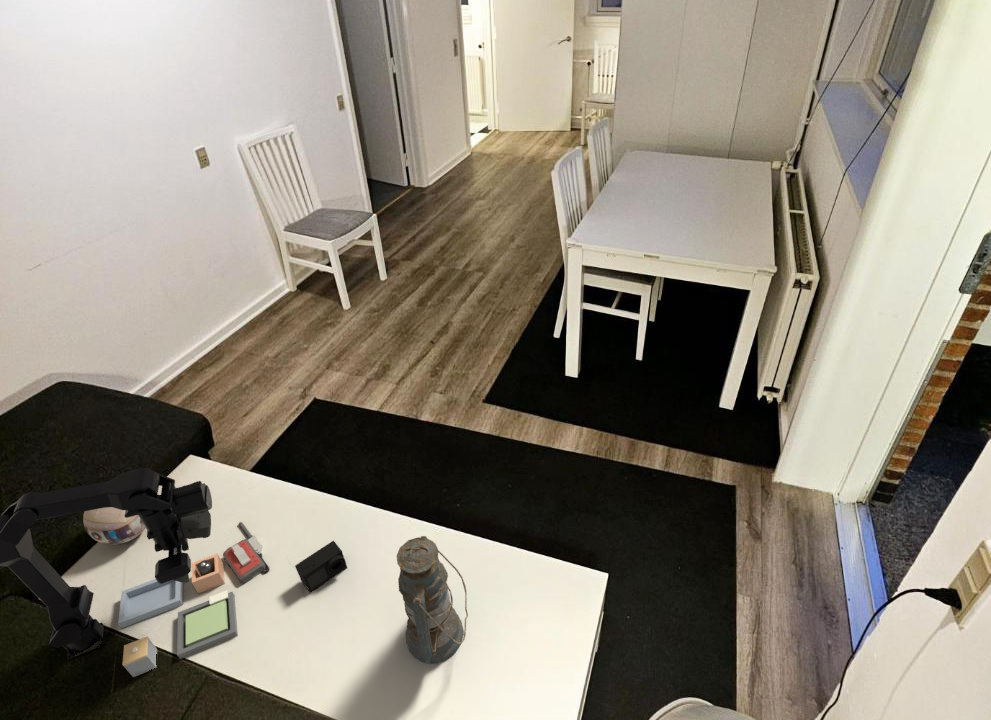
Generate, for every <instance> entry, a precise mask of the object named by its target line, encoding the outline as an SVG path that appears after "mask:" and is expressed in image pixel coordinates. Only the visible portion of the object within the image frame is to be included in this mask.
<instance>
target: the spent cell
mask: <svg viewBox="0 0 991 720" xmlns="http://www.w3.org/2000/svg"><path fill="white" fill-rule="evenodd" d="M197 568H198V570H199V572H200V574H201V575H202V576H204V575H207V574H209V573H212V572H215V571H214V569H213V567H212V565H211V564H210V562H209V561H208V560H203V561H201V562H200V563H199V564H198V566H197Z"/></svg>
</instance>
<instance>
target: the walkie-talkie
mask: <svg viewBox="0 0 991 720" xmlns="http://www.w3.org/2000/svg"><path fill="white" fill-rule="evenodd" d="M238 527H239V528H240V529H241V530H242V532H243V533H244V534H245V536H246V537H247V538H245V539H241V540H240V541H239V542H236V543H235V544H234V545H231V546H229V547H227V548H226V550H225V551H223V552H222V556H223V559H224V561H225V563H226V564H227V565H228V568H230V569H232V572H233V573H234V574H235V576H236V577H237V579H238V580H239V582H240V583H241V584H243V585H245V584H247V583H248V582H251V581H252V580H253V579H254V578H257V576H258V575H259V576H260V574H262V573H264V574H268V573H269V572H270V567H269V565H268V564H267V562H266V561H265V560H264V558H263V553H262V551H263V544H262V543H261V542H260V541H259V539H258V537H257V535H253V534H252V533H251V532H250V531H249V530H248V528H247V527H246V526H245V525H244V523H243V522H242V521H240V522H238Z"/></svg>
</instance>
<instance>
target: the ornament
mask: <svg viewBox="0 0 991 720" xmlns="http://www.w3.org/2000/svg"><path fill="white" fill-rule="evenodd" d="M125 511H126V510H120V509H116V508H113V507H107V508H100V509H95V510H89V511H84V512H83V516H82V521H83V526H84V529H85V532H86V533H87V534H88V535H89V536H90V537H91V538H92V539H93V540H94V541H96V542H99V543H101V544H104V545H113V546H114V545H120V544H121V545H122V544H124V543H127V542H130V541H132V540H134V539H135V538H137V537H138V536H139V535H141V534H142V533H143V532H144V531H145V530H146V527H145V526H144V524H143V522H142V521H141V519H140V517H139V516H138V515H135V516H132V517H128V518H125V517H124V516H125Z"/></svg>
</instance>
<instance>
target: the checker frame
mask: <svg viewBox="0 0 991 720" xmlns="http://www.w3.org/2000/svg"><path fill="white" fill-rule="evenodd" d="M208 598H209V599H208V600H206V601H204V602H202V603H199V604H196V605H194V606H193V605H192V606H191V607H188V608H186V609H185V608H184V609H183V610H181V611H178V612H177V638H176V639H177V641H176V642H177V645H176V646H177V649H176V652H177V654H176V655H177V657H178V658H179V660H183V659H184V658H187V657H189V656H191V655H193V654H197V653H198V652H201V651H203V650H206V649H208V648H211V647H213V646H216V645H218V644H221V643H224V642H225V641H227V640H228V641H229V640H231V639H232V638H235V637H237V636H238V635H239V634H238V624H237V623H238V621H237V610H236V609H237V608H236V597H235V593H234V591H228V589H227V590H223V591H221V592H218V593H216V594H213V595H211V596H209V597H208ZM224 600H225V601H226V603H228V614H229V627H230V628H229V629H228V630H227V631H225V632H222V633H220V634H217V635H215V636H212V637H210V638H208V639H205V640H203V641H200V642H198V643H195V644H193V645H190V646H188V647H187V646H186V615H189V614H191V613H194V612H196V611H199V610H201V609H204V608H206V607H209V606H212V605H214V604H217V603H219V602H222V601H224Z"/></svg>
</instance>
